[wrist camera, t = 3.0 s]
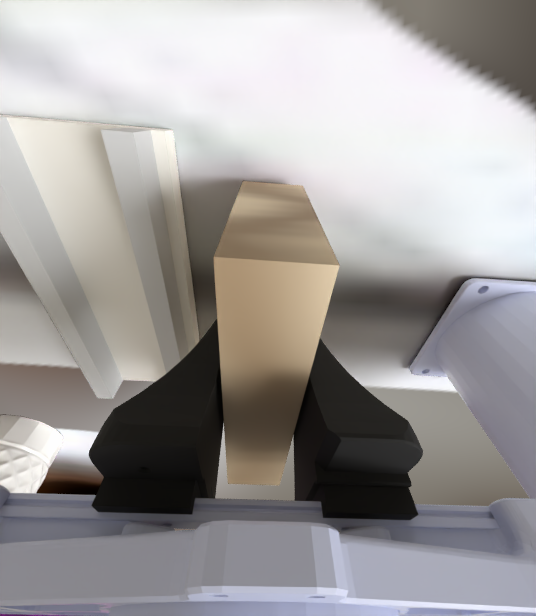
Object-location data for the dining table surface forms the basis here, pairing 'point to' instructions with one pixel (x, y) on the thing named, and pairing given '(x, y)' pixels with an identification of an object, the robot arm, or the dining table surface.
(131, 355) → the track board
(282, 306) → the tan rectangular block
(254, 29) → the dining table surface
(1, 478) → the white cup
